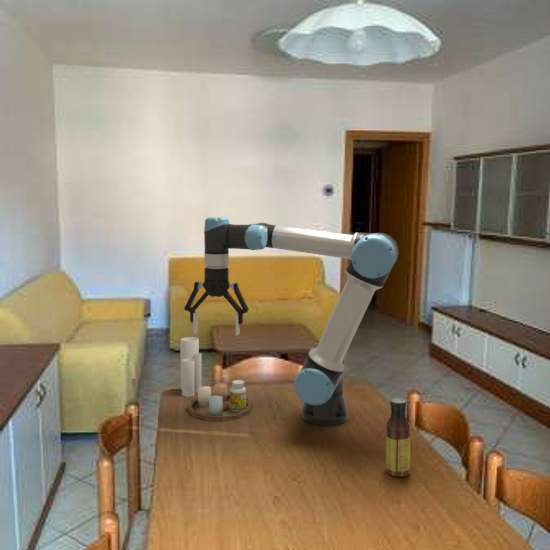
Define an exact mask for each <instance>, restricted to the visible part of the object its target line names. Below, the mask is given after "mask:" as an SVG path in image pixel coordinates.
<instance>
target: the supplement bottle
mask: <svg viewBox="0 0 550 550" xmlns="http://www.w3.org/2000/svg"><path fill="white" fill-rule="evenodd" d="M229 394H230V410H231V411H233V412H242V411H244V410H246V398H247V388H246V387H245V381H244V380H241V379H236V380H235V379H234V380H232V381H231V387H230V390H229Z"/></svg>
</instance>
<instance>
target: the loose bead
mask: <svg viewBox="0 0 550 550" xmlns="http://www.w3.org/2000/svg"><path fill="white" fill-rule="evenodd" d="M213 395H214V394H213ZM209 415H212V416H222V415H223V397H222V396H218V395H214V396H210V397H209Z"/></svg>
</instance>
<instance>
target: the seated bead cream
mask: <svg viewBox="0 0 550 550" xmlns="http://www.w3.org/2000/svg"><path fill="white" fill-rule="evenodd" d="M211 395H212V387H211V386H208V385H202V386H201V387H199V388H198V393H197V398H198V406H199V407H202V408H206V407H209V397H210V396H211Z"/></svg>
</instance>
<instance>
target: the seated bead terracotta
mask: <svg viewBox="0 0 550 550" xmlns="http://www.w3.org/2000/svg"><path fill="white" fill-rule="evenodd" d="M213 390H214V391H213V393H214V394H213V395H218V396H222V397H223V401H226V402H227V394H228V384H227V383H225V382H219V383H215V384H214V387H213Z"/></svg>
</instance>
